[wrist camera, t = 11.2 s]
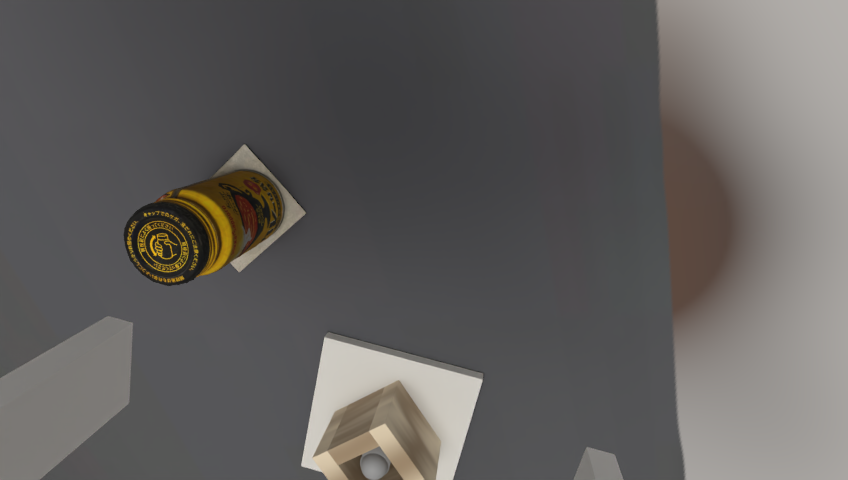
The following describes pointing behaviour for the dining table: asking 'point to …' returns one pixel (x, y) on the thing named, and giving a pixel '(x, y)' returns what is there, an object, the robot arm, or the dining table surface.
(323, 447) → the wooden hollow block
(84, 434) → the robot arm
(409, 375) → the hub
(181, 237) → the condiment
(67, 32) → the dining table surface
